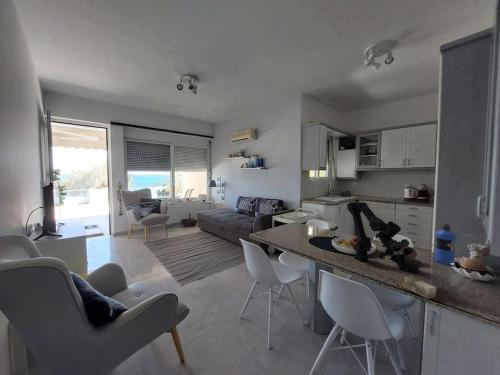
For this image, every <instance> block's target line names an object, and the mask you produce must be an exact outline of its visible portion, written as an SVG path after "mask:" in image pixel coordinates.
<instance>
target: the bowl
mask: <svg viewBox="0 0 500 375" xmlns="http://www.w3.org/2000/svg"><path fill="white" fill-rule="evenodd" d="M356 239H357V235H354V236H353V237H345V236H344V237H343V236H342V237H335V238H333V239H332V240H331V245H332V247H334V249H336V250H337V251H338V252H341V253H344V254H347V255H353V256H356V250H354V248H353V246H354V245H355V244H356ZM371 243H372V244H371V245H372V246H371V249H370V251H367V254H368V256H369V255H372V254H374V253H375V252H376V250H377V245H376V243H374V242H372V241H371Z"/></svg>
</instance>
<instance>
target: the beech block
mask: <svg viewBox="0 0 500 375" xmlns="http://www.w3.org/2000/svg"><path fill="white" fill-rule="evenodd" d="M402 287H404V288H406V289H407V290H409V291H411V292H413V293H415V294H417V295H420V296H421V297H423V298H425V299H427V300H428V299H434V298H436V297H437V286H434V285H433V284H430V283H428V282H427V281H424V280H422V279H420V278H418V277H416V276H414V275H411V274H408V275H404V276H402Z"/></svg>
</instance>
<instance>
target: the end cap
mask: <svg viewBox="0 0 500 375" xmlns="http://www.w3.org/2000/svg"><path fill="white" fill-rule="evenodd" d="M405 260H406V264H407V267H408V269H406V270H405V269H404V268H402V267H401V266H400V265H398V264H397V263H396V265H397V268H399V269H403V270H405V271H410V272H413V273H416V274H419V273H420V272H421V270H420V269H421V264H422V262H421V260H419V259H416V258H415V259H414V260H411V259H408V258H407V257H405Z"/></svg>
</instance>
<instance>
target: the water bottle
mask: <svg viewBox="0 0 500 375" xmlns="http://www.w3.org/2000/svg"><path fill="white" fill-rule="evenodd" d="M440 228H441V229H440V230H436V231H435V239H436V240H435V241H436V244H435V248H434V249H435V250H434V251H435V252H434V253H435V254H434V261H435V262H436V263H437V264H440V265H446V266H451V265H450V263H451V262H452V261H453V260H454V259H455V257H456V249H455V244H456V240H457V234H456V233H455V232H453V231H451V225H450V224H449V223H446V222H445V223H443V224H442V225H441V227H440Z"/></svg>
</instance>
